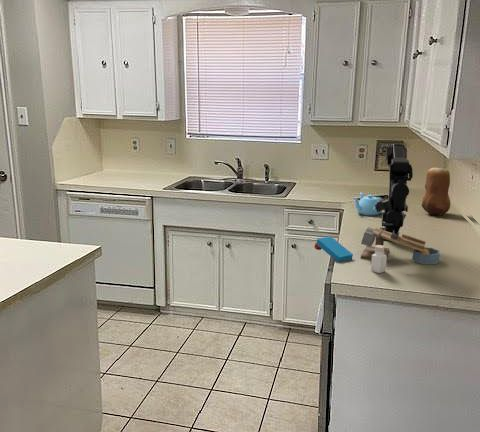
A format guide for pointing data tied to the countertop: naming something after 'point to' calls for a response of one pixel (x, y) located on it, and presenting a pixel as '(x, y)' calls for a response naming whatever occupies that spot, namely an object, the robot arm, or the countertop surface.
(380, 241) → the lever stand
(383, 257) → the pepper shaker
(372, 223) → the countertop surface
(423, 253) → the ball
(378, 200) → the teapot
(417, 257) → the blue bowl
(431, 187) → the butternut squash
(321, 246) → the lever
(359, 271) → the countertop surface
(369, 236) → the tipping lever
